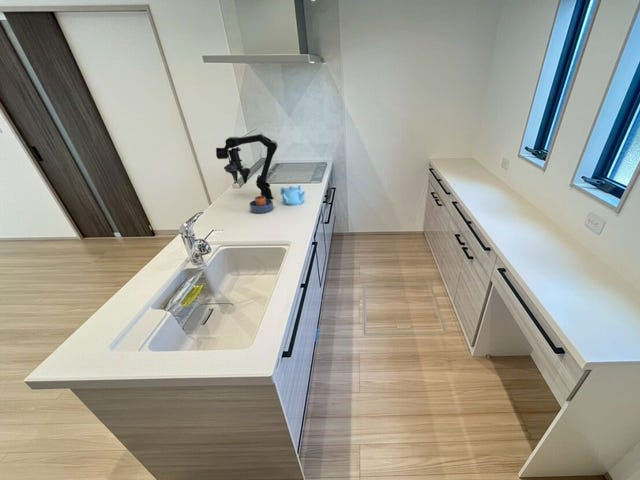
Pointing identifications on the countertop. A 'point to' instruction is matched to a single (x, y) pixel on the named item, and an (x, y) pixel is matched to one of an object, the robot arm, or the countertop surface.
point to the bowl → (261, 207)
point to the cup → (260, 201)
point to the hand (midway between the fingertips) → (240, 182)
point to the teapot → (292, 195)
